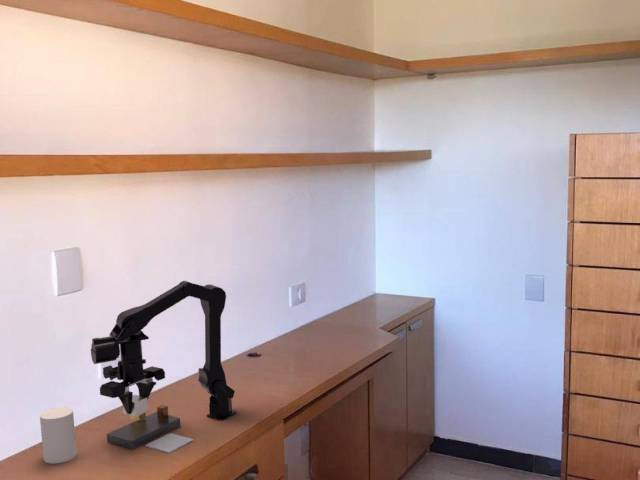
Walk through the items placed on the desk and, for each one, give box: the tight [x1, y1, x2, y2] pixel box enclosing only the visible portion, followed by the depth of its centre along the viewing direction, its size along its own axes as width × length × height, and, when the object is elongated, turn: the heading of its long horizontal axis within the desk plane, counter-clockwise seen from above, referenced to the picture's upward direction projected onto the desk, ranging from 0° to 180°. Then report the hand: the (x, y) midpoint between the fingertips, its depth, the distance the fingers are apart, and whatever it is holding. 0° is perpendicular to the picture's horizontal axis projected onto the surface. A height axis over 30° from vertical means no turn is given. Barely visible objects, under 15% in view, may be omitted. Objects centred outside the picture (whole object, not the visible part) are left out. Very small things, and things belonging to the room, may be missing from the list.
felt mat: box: [145, 432, 194, 454], centre depth 180 cm, size 9×9×1 cm
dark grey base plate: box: [106, 404, 182, 451], centre depth 186 cm, size 18×10×6 cm, turn 146°
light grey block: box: [122, 394, 149, 417], centre depth 184 cm, size 4×5×4 cm
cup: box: [39, 406, 78, 465], centre depth 174 cm, size 8×8×12 cm
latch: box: [129, 412, 147, 421], centre depth 191 cm, size 2×4×4 cm, turn 56°
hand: (135, 411), depth 184 cm, fingers closed on light grey block, 4 cm apart
